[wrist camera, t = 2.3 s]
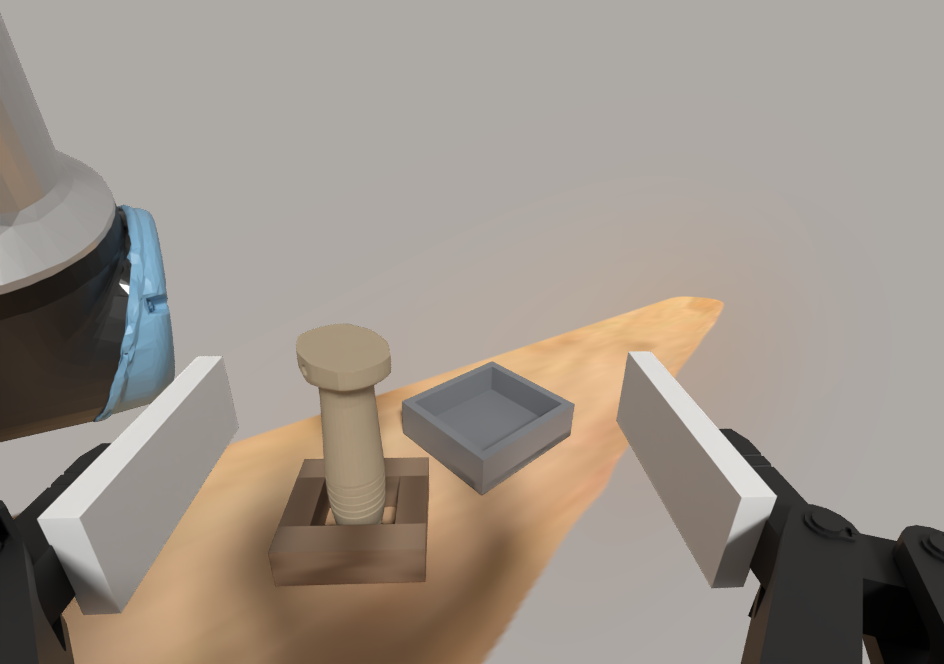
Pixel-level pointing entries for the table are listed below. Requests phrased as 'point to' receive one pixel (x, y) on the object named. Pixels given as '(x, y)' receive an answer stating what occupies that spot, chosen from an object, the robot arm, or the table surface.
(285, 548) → the collar
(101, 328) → the robot arm
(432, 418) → the tray
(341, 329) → the handle
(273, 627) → the table surface
